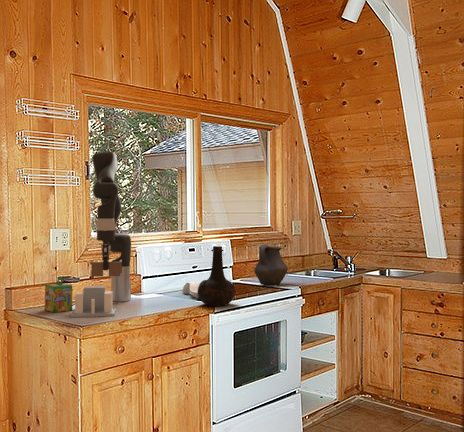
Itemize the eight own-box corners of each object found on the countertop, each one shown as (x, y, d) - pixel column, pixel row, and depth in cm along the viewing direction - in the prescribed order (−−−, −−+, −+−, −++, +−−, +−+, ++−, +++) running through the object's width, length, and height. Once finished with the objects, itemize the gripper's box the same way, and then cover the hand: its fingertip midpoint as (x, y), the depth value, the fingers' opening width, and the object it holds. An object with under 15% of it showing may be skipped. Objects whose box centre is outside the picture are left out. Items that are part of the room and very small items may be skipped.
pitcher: (293, 284, 346) (293, 244, 346) (277, 288, 328) (277, 245, 328) (264, 282, 357) (264, 243, 357) (246, 286, 339) (246, 244, 339)
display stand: (74, 311, 249) (74, 286, 249) (115, 310, 252) (115, 285, 252) (70, 317, 236) (70, 290, 236) (114, 315, 238) (114, 289, 238)
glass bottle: (193, 303, 273) (193, 245, 273) (227, 301, 279) (227, 244, 279) (204, 309, 256) (204, 247, 256) (240, 306, 262) (240, 246, 262)
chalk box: (44, 310, 253) (44, 277, 253) (63, 308, 259) (62, 276, 259) (53, 313, 246) (53, 279, 246) (73, 310, 253) (73, 277, 253)
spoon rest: (217, 298, 290) (217, 284, 290) (197, 300, 284) (197, 286, 284) (194, 293, 310) (194, 280, 310) (175, 294, 304) (175, 281, 304)
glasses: (91, 273, 251) (91, 260, 251) (121, 273, 254) (121, 259, 254) (89, 276, 238) (89, 262, 238) (121, 276, 240) (121, 262, 240)
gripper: (97, 229, 246) (97, 268, 246) (96, 229, 233) (95, 271, 233) (115, 229, 248) (115, 268, 248) (114, 229, 234) (114, 271, 234)
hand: (105, 269), depth 240 cm, fingers closed on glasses, 2 cm apart
